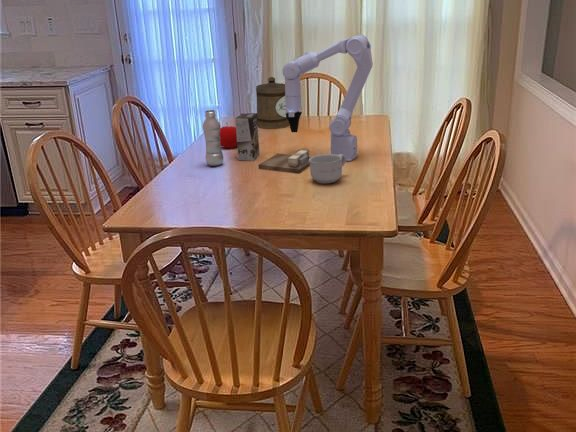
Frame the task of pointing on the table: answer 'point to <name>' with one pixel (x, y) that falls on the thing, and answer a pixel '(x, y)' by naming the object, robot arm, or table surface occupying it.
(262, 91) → the wooden container
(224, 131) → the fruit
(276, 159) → the stool seat panel
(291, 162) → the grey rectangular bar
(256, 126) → the coffee box
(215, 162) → the plastic bottle
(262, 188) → the table surface
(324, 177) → the teacup
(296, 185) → the table surface
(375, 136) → the table surface
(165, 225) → the table surface
